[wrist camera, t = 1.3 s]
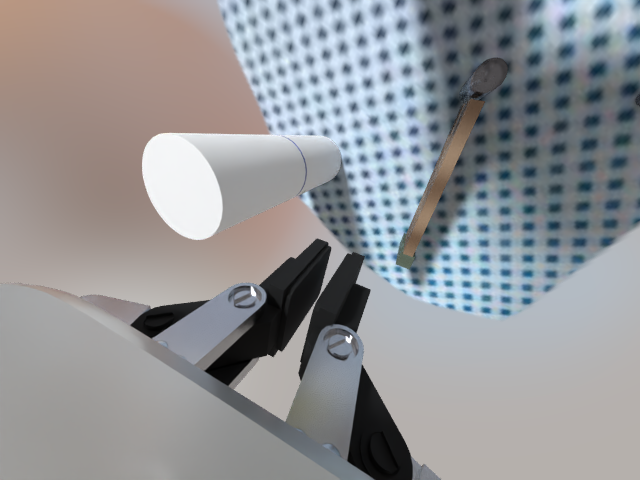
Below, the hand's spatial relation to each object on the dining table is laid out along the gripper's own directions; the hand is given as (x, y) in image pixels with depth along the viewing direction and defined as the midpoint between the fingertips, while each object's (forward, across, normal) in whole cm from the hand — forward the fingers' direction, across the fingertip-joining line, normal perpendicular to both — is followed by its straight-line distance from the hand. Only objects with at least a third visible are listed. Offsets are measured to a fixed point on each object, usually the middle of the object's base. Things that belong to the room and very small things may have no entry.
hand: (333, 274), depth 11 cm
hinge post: (+27, -5, -12) cm, 30 cm away
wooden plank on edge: (+26, -5, -1) cm, 27 cm away
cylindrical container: (+27, +12, 0) cm, 30 cm away
